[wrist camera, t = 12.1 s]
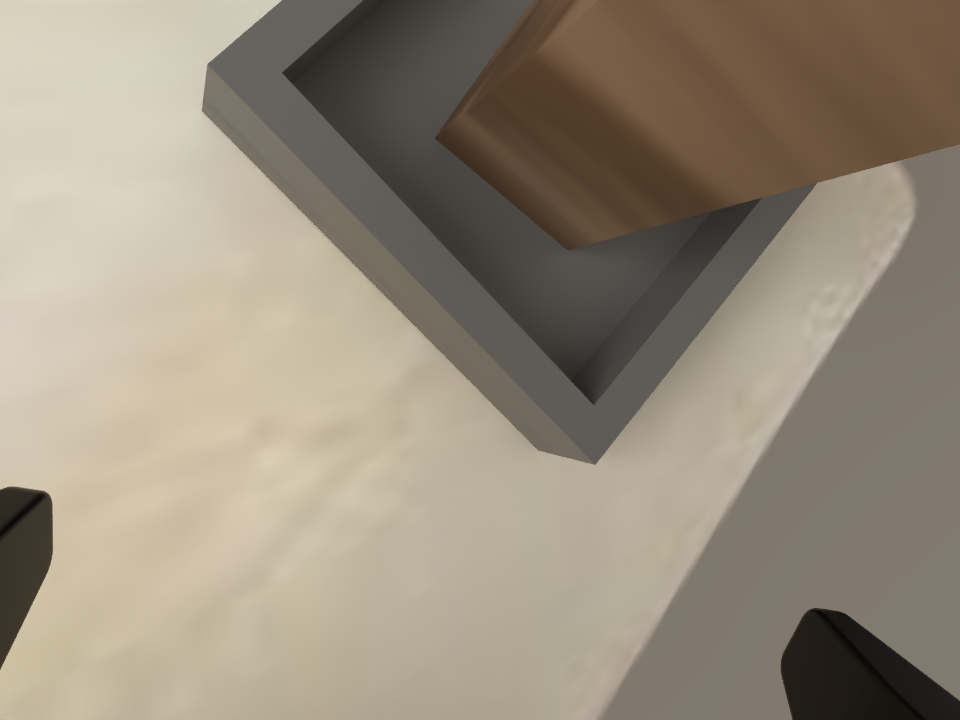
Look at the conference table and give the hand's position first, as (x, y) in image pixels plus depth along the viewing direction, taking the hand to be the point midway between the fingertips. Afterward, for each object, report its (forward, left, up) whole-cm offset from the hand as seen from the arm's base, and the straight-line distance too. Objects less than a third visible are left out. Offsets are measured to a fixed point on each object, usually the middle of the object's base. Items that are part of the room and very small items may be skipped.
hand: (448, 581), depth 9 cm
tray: (+10, +1, -10) cm, 15 cm away
